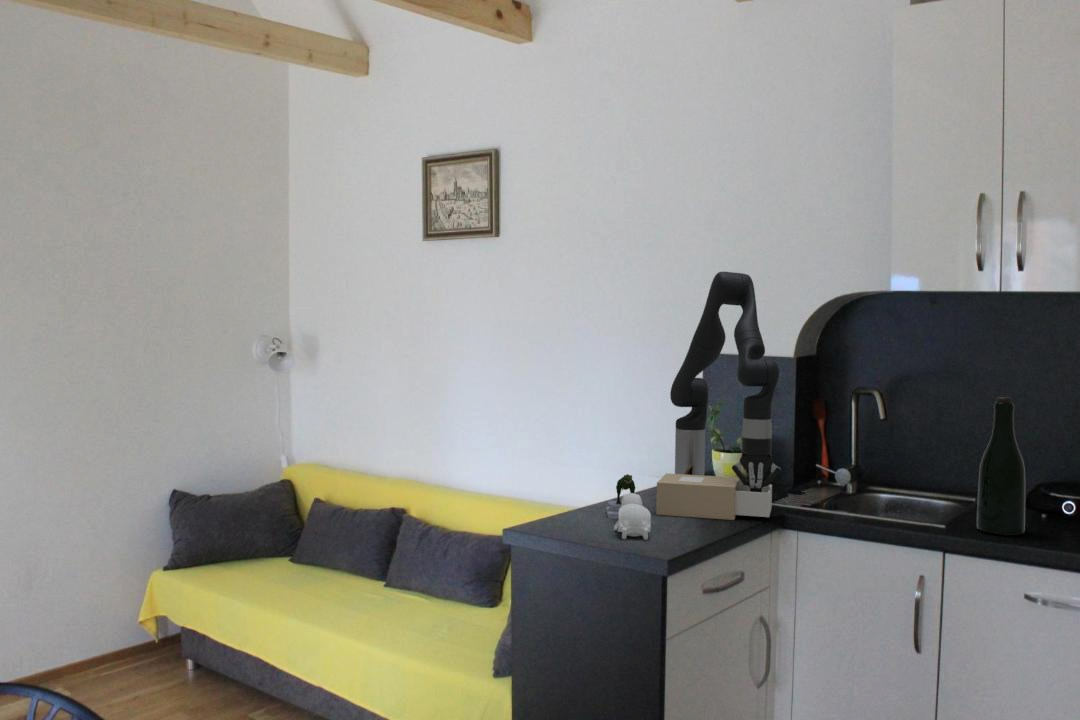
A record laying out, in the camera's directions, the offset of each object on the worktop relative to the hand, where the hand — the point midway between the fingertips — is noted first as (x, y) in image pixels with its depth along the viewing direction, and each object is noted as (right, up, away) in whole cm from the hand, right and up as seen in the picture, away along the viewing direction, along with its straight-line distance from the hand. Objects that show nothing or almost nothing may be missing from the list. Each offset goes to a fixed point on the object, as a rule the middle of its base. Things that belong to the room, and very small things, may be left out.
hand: (755, 501), depth 239 cm
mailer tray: (-6, -2, +2) cm, 6 cm away
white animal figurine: (-34, -4, -22) cm, 41 cm away
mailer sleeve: (-14, -3, +4) cm, 15 cm away
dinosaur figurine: (-34, -4, 0) cm, 34 cm away
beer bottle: (+56, -5, -16) cm, 58 cm away
